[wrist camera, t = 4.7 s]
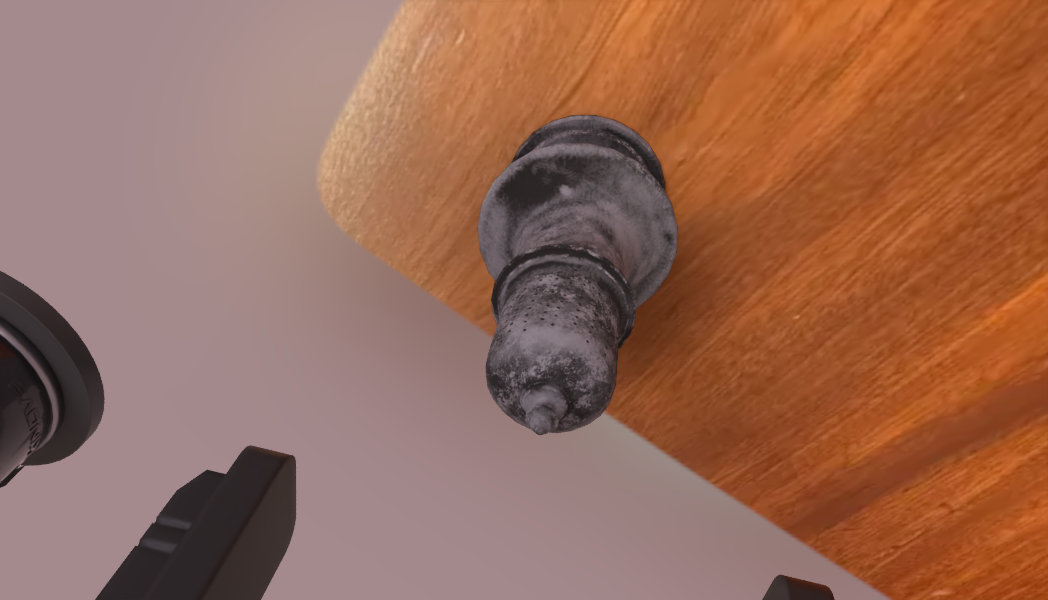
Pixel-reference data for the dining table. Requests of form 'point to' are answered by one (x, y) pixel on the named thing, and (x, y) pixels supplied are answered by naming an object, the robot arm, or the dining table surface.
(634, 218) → the salt shaker
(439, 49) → the dining table surface
